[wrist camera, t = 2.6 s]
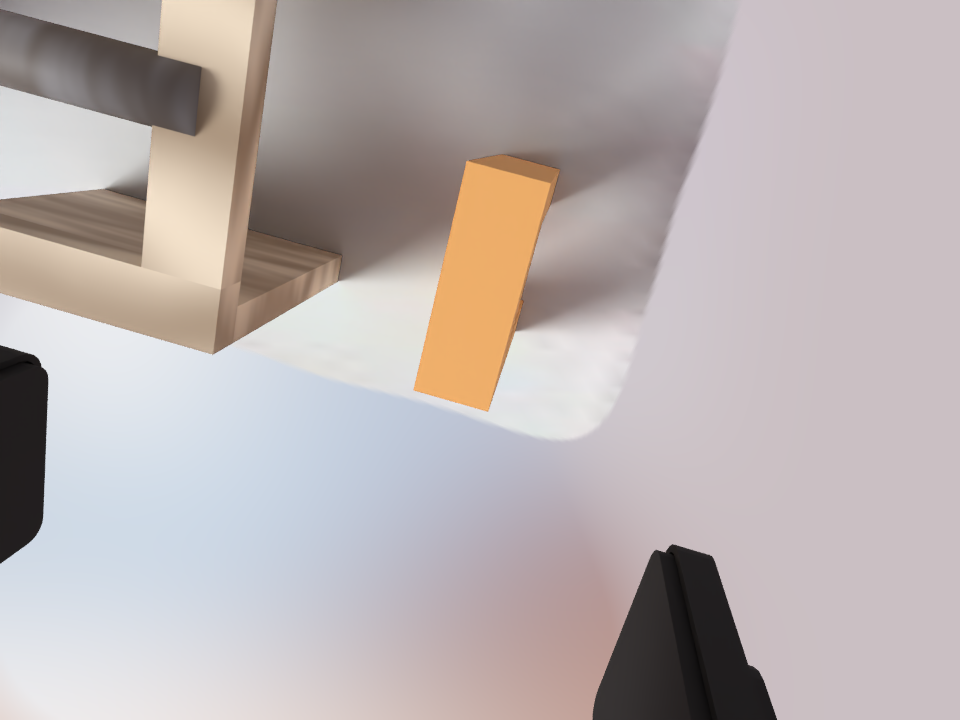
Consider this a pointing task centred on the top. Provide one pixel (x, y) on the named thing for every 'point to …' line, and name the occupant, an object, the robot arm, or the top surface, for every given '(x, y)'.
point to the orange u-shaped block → (484, 277)
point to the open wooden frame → (159, 181)
